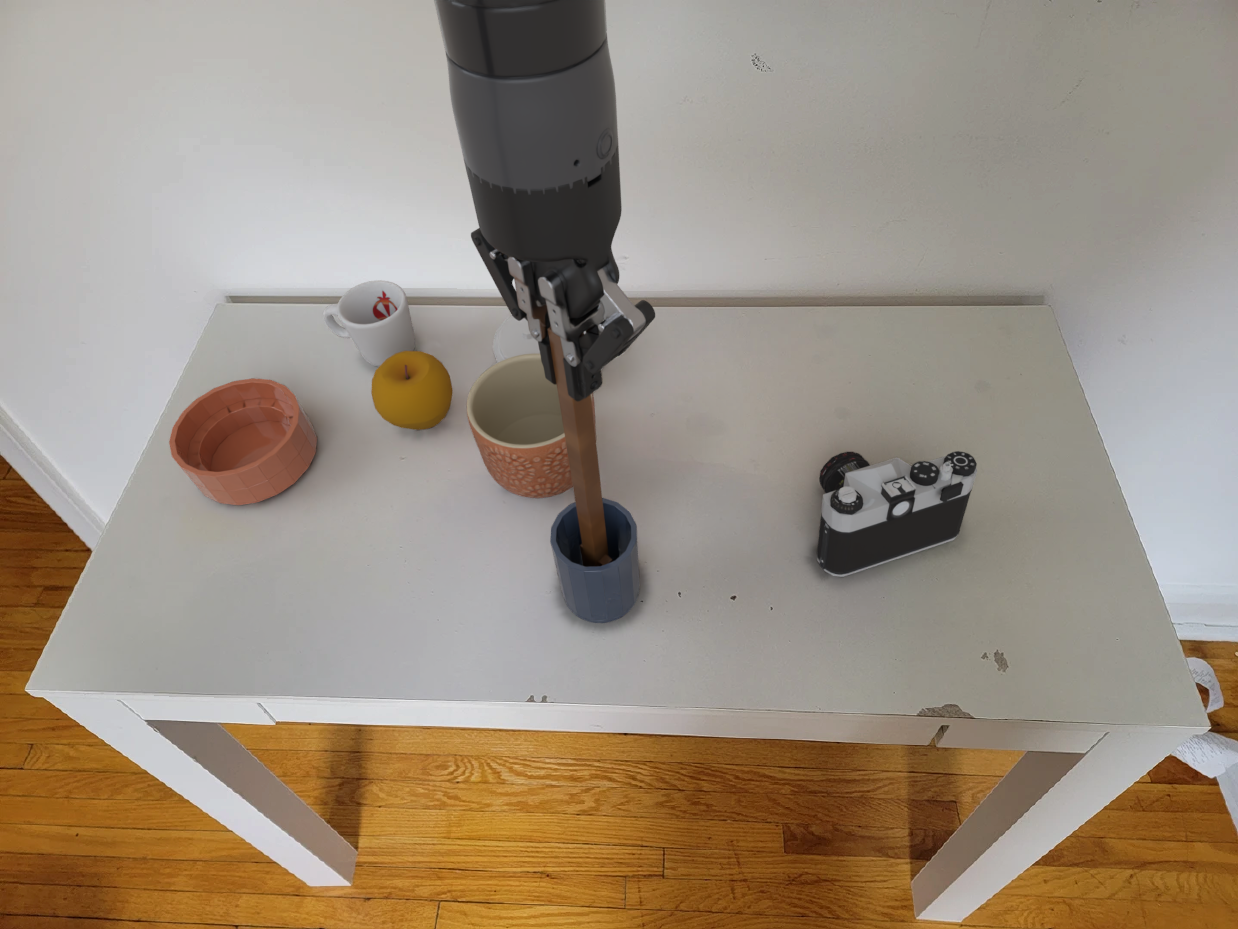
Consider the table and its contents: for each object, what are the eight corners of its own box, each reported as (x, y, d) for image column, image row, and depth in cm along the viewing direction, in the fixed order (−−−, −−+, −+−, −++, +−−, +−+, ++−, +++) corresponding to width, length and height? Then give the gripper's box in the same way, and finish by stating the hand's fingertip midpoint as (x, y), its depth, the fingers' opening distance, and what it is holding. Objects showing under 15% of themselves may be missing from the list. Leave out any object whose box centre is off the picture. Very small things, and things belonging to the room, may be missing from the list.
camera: (908, 472, 81) (923, 398, 75) (972, 543, 74) (996, 467, 67) (782, 512, 79) (786, 439, 72) (834, 589, 71) (844, 516, 65)
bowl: (234, 531, 79) (206, 498, 75) (176, 461, 85) (147, 427, 81) (342, 456, 85) (322, 421, 80) (280, 396, 91) (259, 360, 86)
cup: (326, 370, 93) (301, 321, 86) (351, 325, 97) (328, 275, 91) (411, 378, 91) (392, 329, 85) (431, 332, 96) (415, 281, 90)
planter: (462, 480, 82) (438, 413, 73) (533, 405, 88) (519, 335, 79) (554, 533, 77) (540, 469, 69) (623, 451, 83) (618, 382, 75)
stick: (605, 595, 71) (573, 347, 46) (581, 574, 73) (538, 322, 47) (617, 584, 72) (593, 333, 46) (593, 563, 73) (557, 308, 48)
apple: (396, 459, 84) (371, 406, 77) (378, 407, 89) (353, 352, 82) (470, 432, 86) (453, 378, 79) (448, 382, 91) (430, 327, 84)
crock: (600, 638, 70) (592, 588, 62) (546, 589, 74) (532, 534, 66) (655, 586, 73) (654, 531, 65) (601, 540, 77) (594, 483, 69)
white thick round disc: (483, 345, 94) (475, 314, 90) (578, 312, 97) (574, 281, 93) (519, 415, 87) (512, 385, 83) (620, 378, 90) (618, 347, 86)
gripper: (392, 120, 38) (464, 364, 52) (581, 232, 32) (605, 475, 46) (506, 62, 41) (546, 308, 55) (699, 156, 35) (689, 405, 49)
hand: (573, 383), depth 50 cm, fingers closed on stick, 1 cm apart
